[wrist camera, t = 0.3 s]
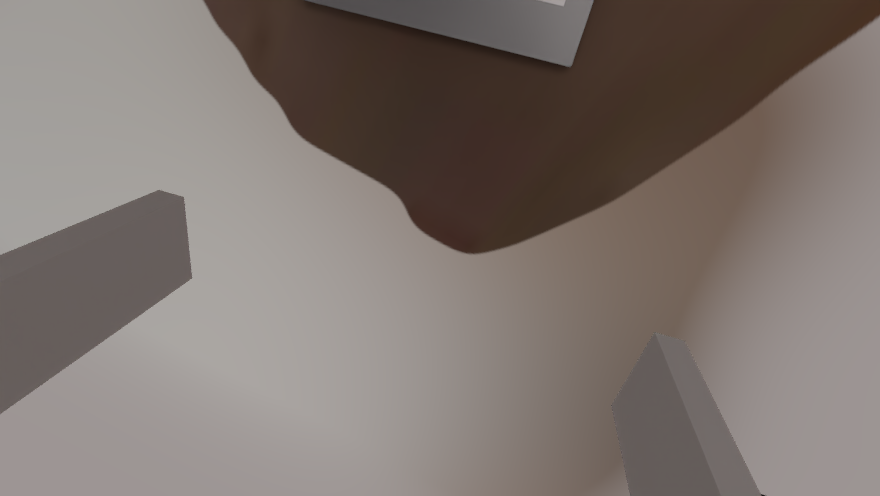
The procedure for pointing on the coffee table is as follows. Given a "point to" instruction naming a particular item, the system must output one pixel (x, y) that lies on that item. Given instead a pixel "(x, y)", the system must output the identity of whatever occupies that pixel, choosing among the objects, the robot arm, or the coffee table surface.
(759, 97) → the coffee table surface
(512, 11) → the power strip
